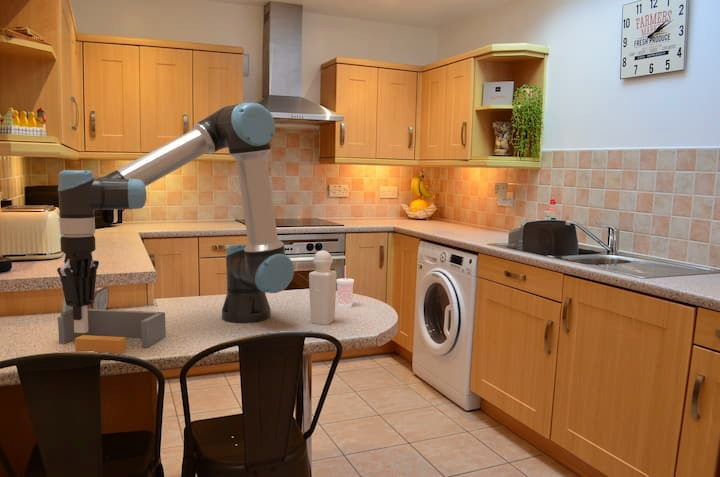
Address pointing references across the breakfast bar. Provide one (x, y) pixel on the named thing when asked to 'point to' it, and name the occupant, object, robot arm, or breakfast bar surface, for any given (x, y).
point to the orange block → (100, 344)
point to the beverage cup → (345, 291)
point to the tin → (100, 298)
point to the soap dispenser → (322, 289)
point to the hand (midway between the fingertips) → (81, 331)
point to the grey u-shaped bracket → (117, 325)
